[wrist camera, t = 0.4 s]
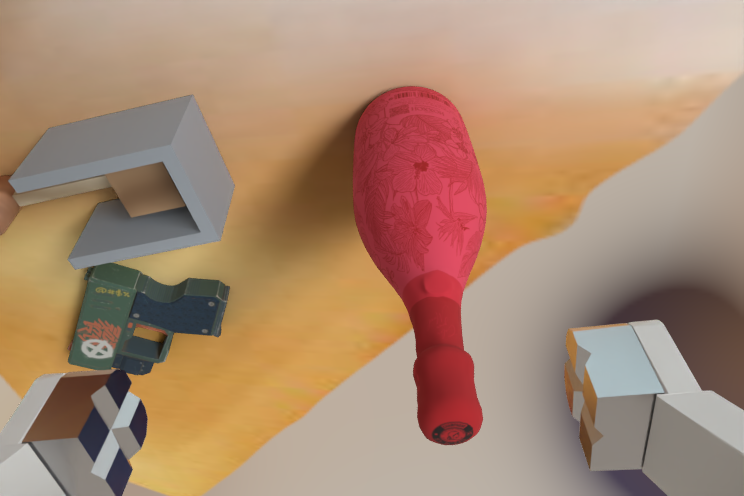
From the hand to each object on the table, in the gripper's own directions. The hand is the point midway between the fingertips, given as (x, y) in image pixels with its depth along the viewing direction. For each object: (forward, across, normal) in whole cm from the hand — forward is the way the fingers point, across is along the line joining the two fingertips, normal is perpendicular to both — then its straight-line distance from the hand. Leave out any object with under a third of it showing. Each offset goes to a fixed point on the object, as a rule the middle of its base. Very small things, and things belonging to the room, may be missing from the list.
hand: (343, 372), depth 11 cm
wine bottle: (+41, -1, +14) cm, 44 cm away
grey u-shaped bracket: (+40, +23, +13) cm, 48 cm away
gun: (+43, +30, +32) cm, 61 cm away
